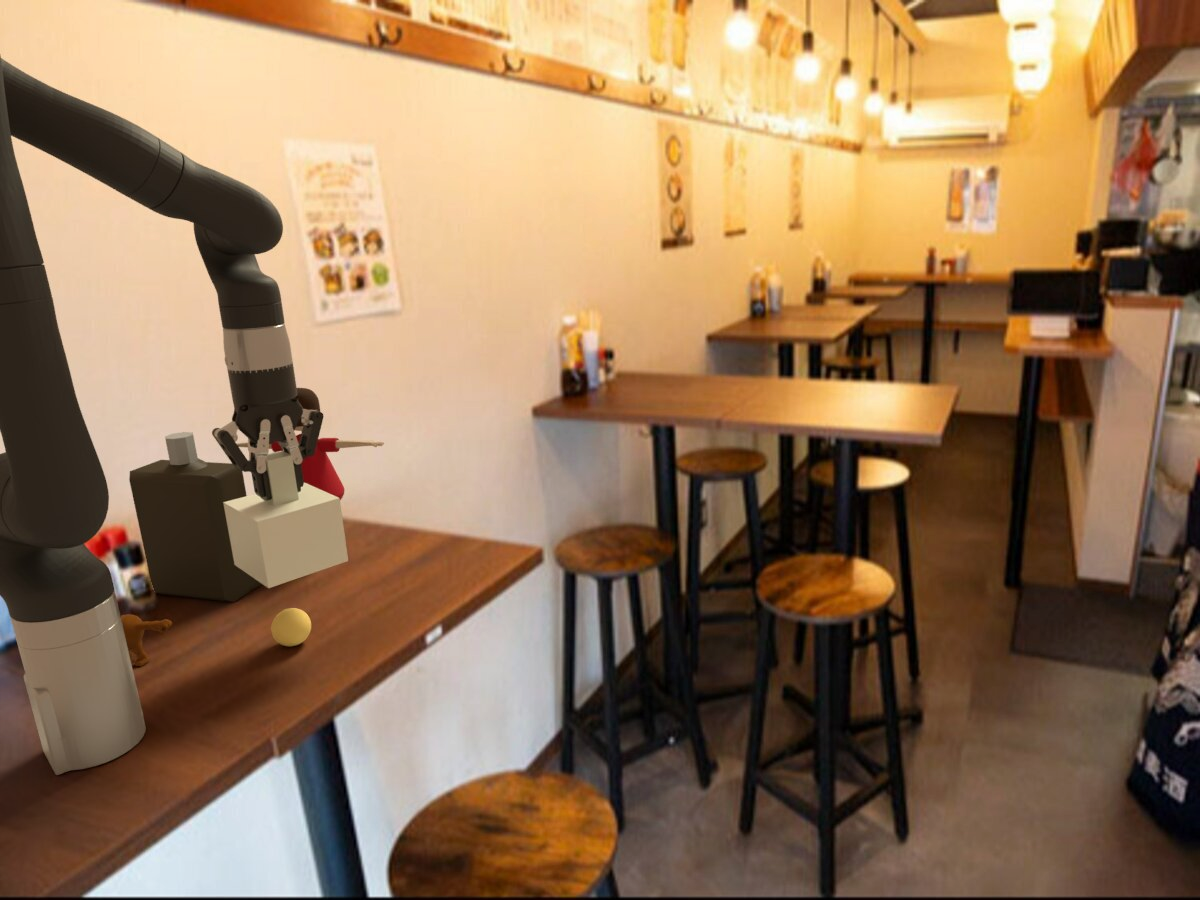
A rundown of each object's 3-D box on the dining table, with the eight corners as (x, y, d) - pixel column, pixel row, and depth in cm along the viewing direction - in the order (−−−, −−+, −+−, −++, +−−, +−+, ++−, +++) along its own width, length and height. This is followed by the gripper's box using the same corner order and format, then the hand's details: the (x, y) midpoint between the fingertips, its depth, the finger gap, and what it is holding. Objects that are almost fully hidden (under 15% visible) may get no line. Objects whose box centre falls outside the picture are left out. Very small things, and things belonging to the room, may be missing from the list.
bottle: (233, 605, 119) (203, 444, 113) (147, 595, 124) (113, 440, 117) (268, 582, 127) (242, 430, 120) (185, 574, 131) (156, 426, 124)
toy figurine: (81, 670, 103) (69, 622, 101) (101, 655, 107) (90, 609, 105) (168, 671, 102) (158, 624, 100) (186, 656, 105) (176, 610, 104)
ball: (273, 639, 103) (299, 607, 105) (257, 627, 106) (283, 596, 108) (299, 658, 106) (325, 626, 108) (283, 645, 109) (308, 615, 111)
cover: (268, 588, 98) (249, 474, 94) (234, 564, 106) (215, 458, 102) (348, 560, 106) (333, 453, 101) (311, 540, 113) (296, 439, 109)
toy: (405, 543, 140) (386, 375, 132) (383, 568, 130) (361, 388, 122) (261, 542, 143) (233, 377, 135) (228, 567, 133) (196, 391, 125)
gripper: (212, 375, 91) (237, 517, 96) (328, 357, 100) (345, 487, 105) (188, 368, 96) (213, 503, 101) (301, 351, 105) (319, 476, 110)
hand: (281, 494), depth 103 cm, fingers closed on cover, 3 cm apart
